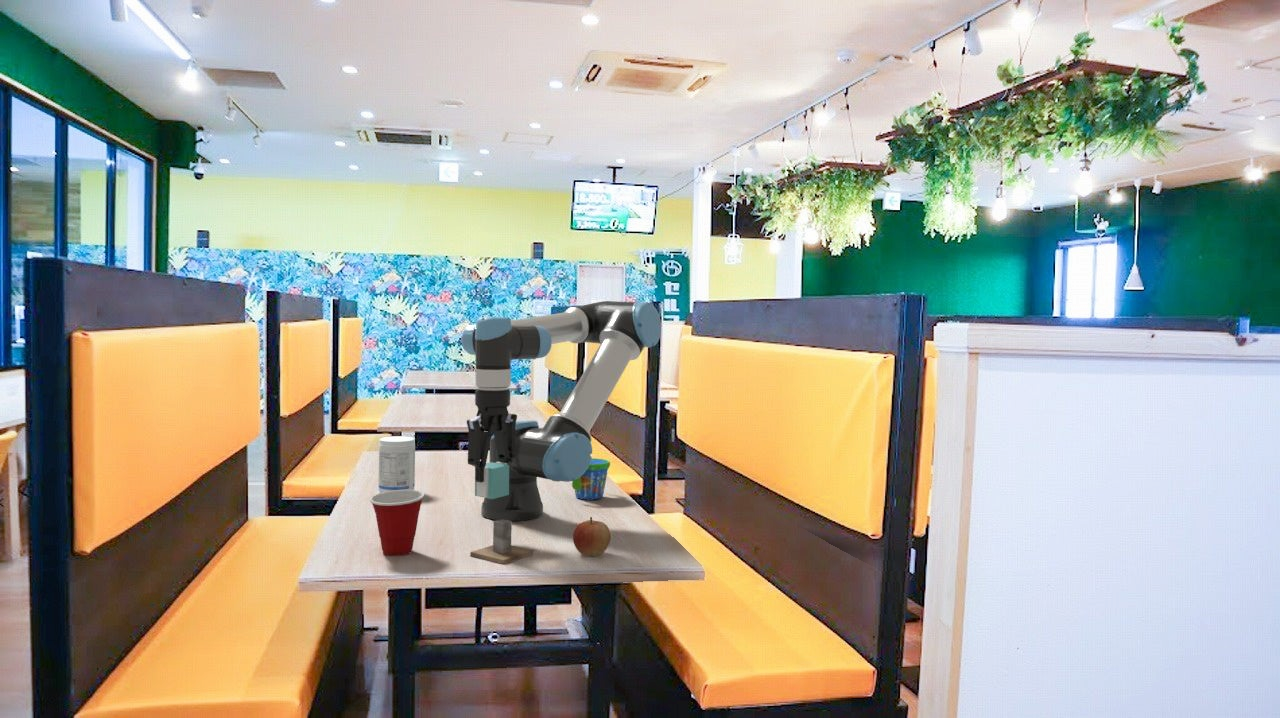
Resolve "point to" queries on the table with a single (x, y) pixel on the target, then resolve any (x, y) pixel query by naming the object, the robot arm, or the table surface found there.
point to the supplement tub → (396, 463)
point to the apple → (591, 537)
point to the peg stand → (501, 545)
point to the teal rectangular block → (497, 480)
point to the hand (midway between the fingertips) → (491, 493)
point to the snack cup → (592, 480)
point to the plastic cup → (397, 519)
